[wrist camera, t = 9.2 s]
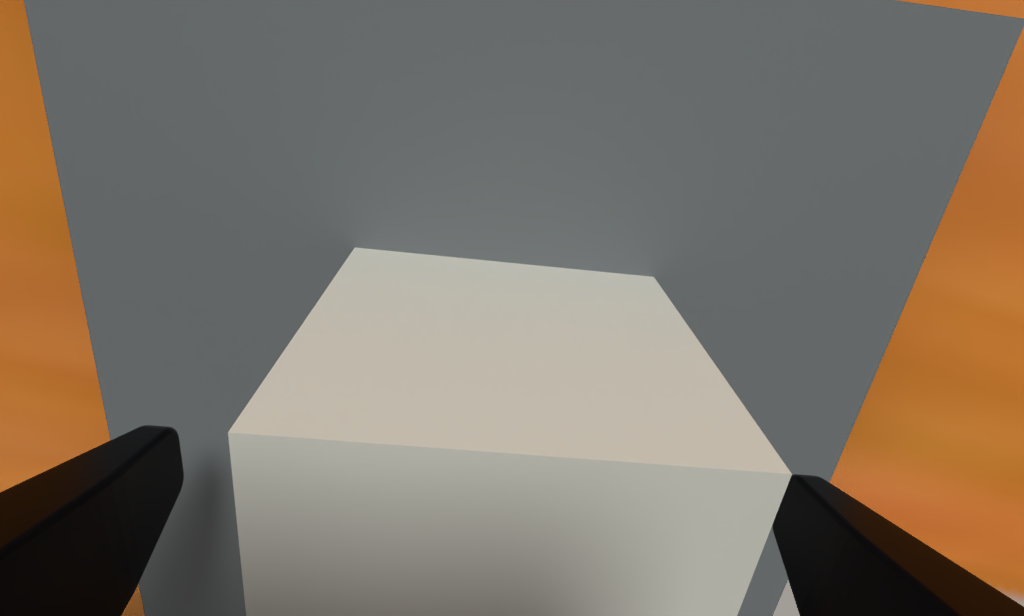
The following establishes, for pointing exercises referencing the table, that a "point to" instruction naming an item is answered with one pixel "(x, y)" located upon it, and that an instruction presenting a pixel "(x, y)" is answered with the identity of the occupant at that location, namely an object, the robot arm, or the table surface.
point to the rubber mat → (498, 191)
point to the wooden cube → (497, 451)
